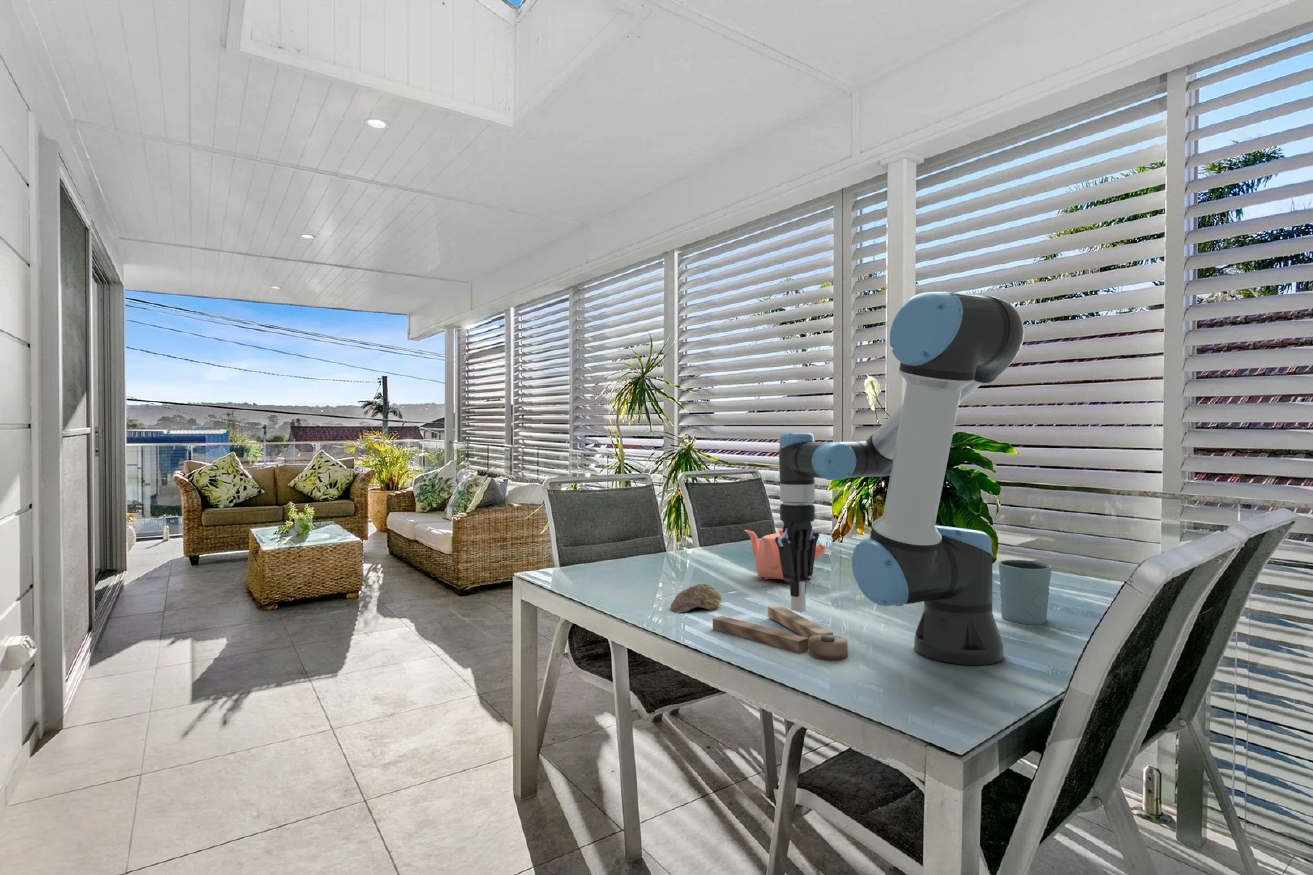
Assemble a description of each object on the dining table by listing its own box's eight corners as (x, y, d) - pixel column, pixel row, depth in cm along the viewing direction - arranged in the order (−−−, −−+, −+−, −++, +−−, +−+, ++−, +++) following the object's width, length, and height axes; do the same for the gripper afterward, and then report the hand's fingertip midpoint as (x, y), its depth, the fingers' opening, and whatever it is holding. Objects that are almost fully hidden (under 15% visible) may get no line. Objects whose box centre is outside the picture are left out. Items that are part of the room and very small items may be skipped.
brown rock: (664, 604, 166) (664, 584, 166) (714, 601, 169) (714, 581, 169) (674, 615, 157) (674, 593, 157) (726, 611, 159) (726, 589, 159)
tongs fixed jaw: (855, 654, 127) (855, 636, 127) (833, 662, 122) (833, 645, 122) (735, 622, 149) (734, 607, 149) (712, 628, 144) (712, 613, 144)
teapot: (762, 587, 182) (762, 535, 182) (744, 573, 200) (743, 525, 200) (828, 584, 185) (827, 532, 184) (803, 570, 203) (803, 523, 203)
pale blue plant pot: (1000, 610, 156) (1000, 557, 155) (1052, 616, 150) (1052, 561, 150) (996, 621, 147) (996, 565, 147) (1051, 628, 142) (1051, 570, 142)
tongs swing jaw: (833, 644, 132) (833, 632, 132) (819, 645, 131) (819, 634, 131) (780, 615, 153) (780, 605, 153) (768, 616, 152) (767, 606, 152)
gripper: (801, 499, 158) (802, 602, 158) (764, 504, 149) (765, 612, 149) (829, 501, 152) (830, 608, 152) (792, 506, 144) (793, 619, 144)
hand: (798, 610), depth 151 cm, fingers closed
